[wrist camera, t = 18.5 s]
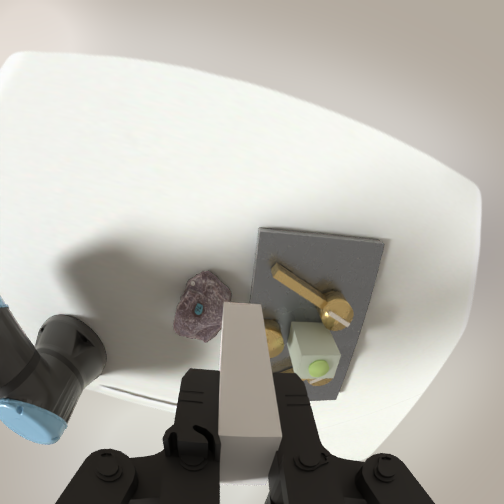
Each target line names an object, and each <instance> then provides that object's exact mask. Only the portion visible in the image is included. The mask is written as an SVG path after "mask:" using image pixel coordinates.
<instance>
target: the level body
mask: <svg viewBox="0 0 504 504" xmlns="http://www.w3.org/2000/svg"><path fill="white" fill-rule="evenodd" d="M287 345H288V349H289V353H290V357H291V361H292V365H293V370H294V373H296V374H297V375H298V376H299V377H300V378H301V379H319V378H334V375H335V372H336V369H337V366H338V363H339V360H340V357H341V354H340V352H339V350H338V347H337V345H336V343H335V341H334V339H333V337H332V334H331V332H330V330H329V329H327V328H326V327H325V326H324V324H323V323H317V322H291V327H290V332H289V337H288V342H287Z"/></svg>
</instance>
